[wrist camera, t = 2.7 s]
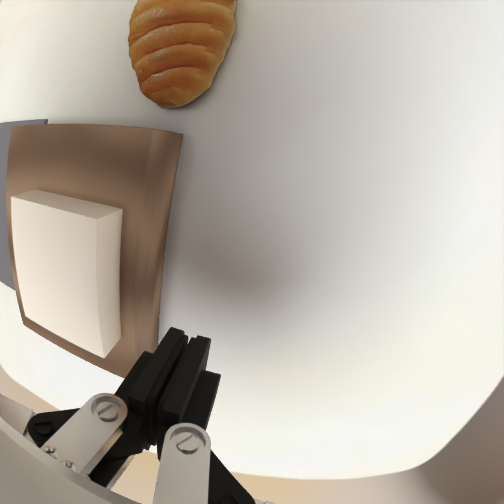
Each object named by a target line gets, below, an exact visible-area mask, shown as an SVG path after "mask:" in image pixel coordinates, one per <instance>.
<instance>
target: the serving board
mask: <svg viewBox="0 0 504 504" xmlns="http://www.w3.org/2000/svg"><path fill="white" fill-rule="evenodd" d="M182 138H183V134H178V133H173V132H168V131H163V130H157V129H150V128H140V127H128V126H114V125H95V124H37V125H19V126H11V133H10V141H9V150H8V162H7V181H6V211H7V231H8V243H9V252H10V260H11V267H12V274H13V280H14V285H15V290H16V295H17V300H18V304H19V309H20V313H21V317H22V321H23V324H24V325H25V326H26V327H28V328H29V329H31V330H33V331H34V332H36V333H37V334H39V335H41V336H42V337H44V338H46V339H47V340H49V341H51V342H52V343H54V344H56V345H57V346H59V347H61V348H63V349H65V350H66V351H68V352H70V353H72V354H74V355H76V356H78V357H80V358H82V359H84V360H86V361H88V362H90V363H92V364H94V365H96V366H98V367H100V368H102V369H104V370H107V371H109V372H111V373H113V374H116V375H118V376H120V377H122V378H126V376H127V375H128V373H129V372H130V370H131V369H132V367H133V366H134V364H135V363H136V361H137V360H138V359H139V357H140V356H141V354H142V353H143V352H144V351H148V352H150V353H154V352H155V350H156V349H157V347H158V325H159V307H160V293H161V280H162V269H163V259H164V250H165V241H166V233H167V225H168V218H169V211H170V204H171V198H172V191H173V185H174V179H175V174H176V168H177V163H178V157H179V152H180V147H181V142H182ZM33 190H41V191H45V192H50V193H54V194H59V195H63V196H68V197H72V198H77V199H81V200H86V201H90V202H94V203H99V204H103V205H108V206H112V207H116V208H121V209H123V215H122V228H121V245H120V323H121V338H120V340H119V341H118V342H117V343H116V344H115V346H114V347H113V348H112V349H111V351H110V352H109V353H108V355H107V356H106V357H105V358H102V357H100V356H98V355H95V354H93V353H91V352H89V351H87V350H85V349H83V348H81V347H79V346H77V345H75V344H73V343H71V342H69V341H67V340H66V339H64V338H62V337H60V336H58V335H56V334H55V333H53V332H51V331H49V330H48V329H46V328H44V327H42V326H41V325H39V324H37V323H36V322H34V321H32V320H31V319H29V318H28V317H26V316H25V312H24V308H23V304H22V299H21V294H20V289H19V283H18V277H17V271H16V264H15V256H14V247H13V236H12V220H11V196H14V195H18V194H21V193H25V192H29V191H33Z"/></svg>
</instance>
